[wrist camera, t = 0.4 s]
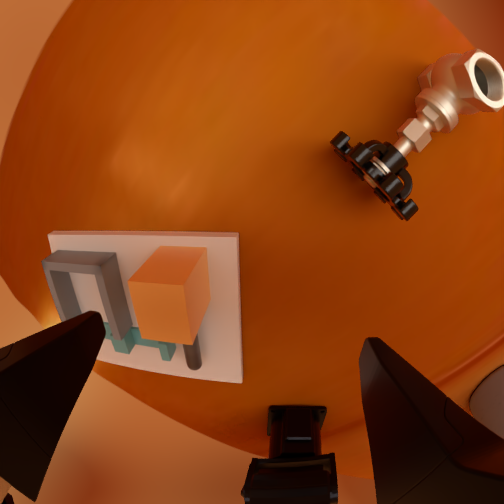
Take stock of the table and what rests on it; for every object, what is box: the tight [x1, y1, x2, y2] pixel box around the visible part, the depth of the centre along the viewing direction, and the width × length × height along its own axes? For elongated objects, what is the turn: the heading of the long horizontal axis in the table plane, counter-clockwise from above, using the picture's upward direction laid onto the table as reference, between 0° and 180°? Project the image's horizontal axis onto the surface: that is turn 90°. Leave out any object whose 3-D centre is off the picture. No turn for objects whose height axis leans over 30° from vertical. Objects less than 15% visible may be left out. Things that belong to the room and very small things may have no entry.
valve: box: [330, 49, 504, 221], centre depth 13 cm, size 7×7×12 cm
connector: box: [127, 246, 211, 371], centre depth 21 cm, size 11×4×6 cm, turn 0°
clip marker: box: [118, 326, 176, 361], centre depth 24 cm, size 2×5×2 cm, turn 90°
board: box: [48, 231, 243, 383], centre depth 24 cm, size 15×18×1 cm
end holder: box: [41, 250, 133, 341], centre depth 22 cm, size 7×7×2 cm
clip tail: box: [104, 322, 122, 353], centre depth 24 cm, size 2×5×2 cm, turn 90°
